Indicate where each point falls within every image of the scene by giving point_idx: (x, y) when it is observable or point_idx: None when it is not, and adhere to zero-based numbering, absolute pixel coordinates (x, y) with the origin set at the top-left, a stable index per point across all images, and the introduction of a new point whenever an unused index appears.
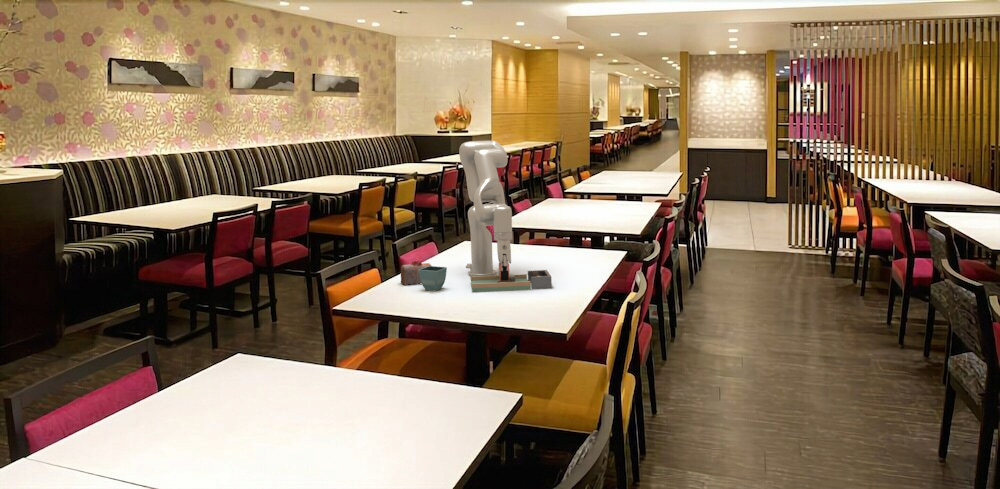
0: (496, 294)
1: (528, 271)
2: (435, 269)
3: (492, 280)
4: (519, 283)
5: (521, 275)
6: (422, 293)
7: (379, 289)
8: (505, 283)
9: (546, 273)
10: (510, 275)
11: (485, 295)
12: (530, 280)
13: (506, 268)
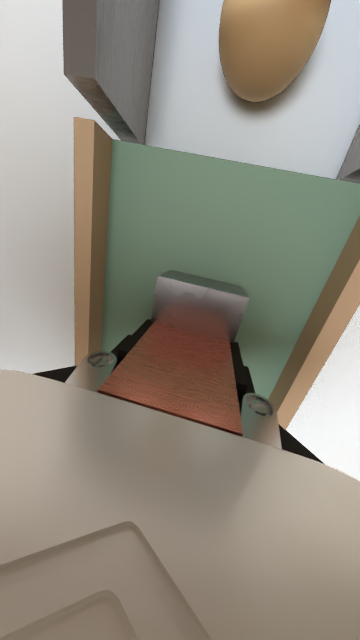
0: (335, 418)
1: (96, 74)
2: None
3: None
4: (358, 291)
5: (96, 182)
6: None
7: None
8: (307, 384)
9: None
10: (191, 319)
11: (320, 457)
12: (139, 116)
13: (308, 456)
